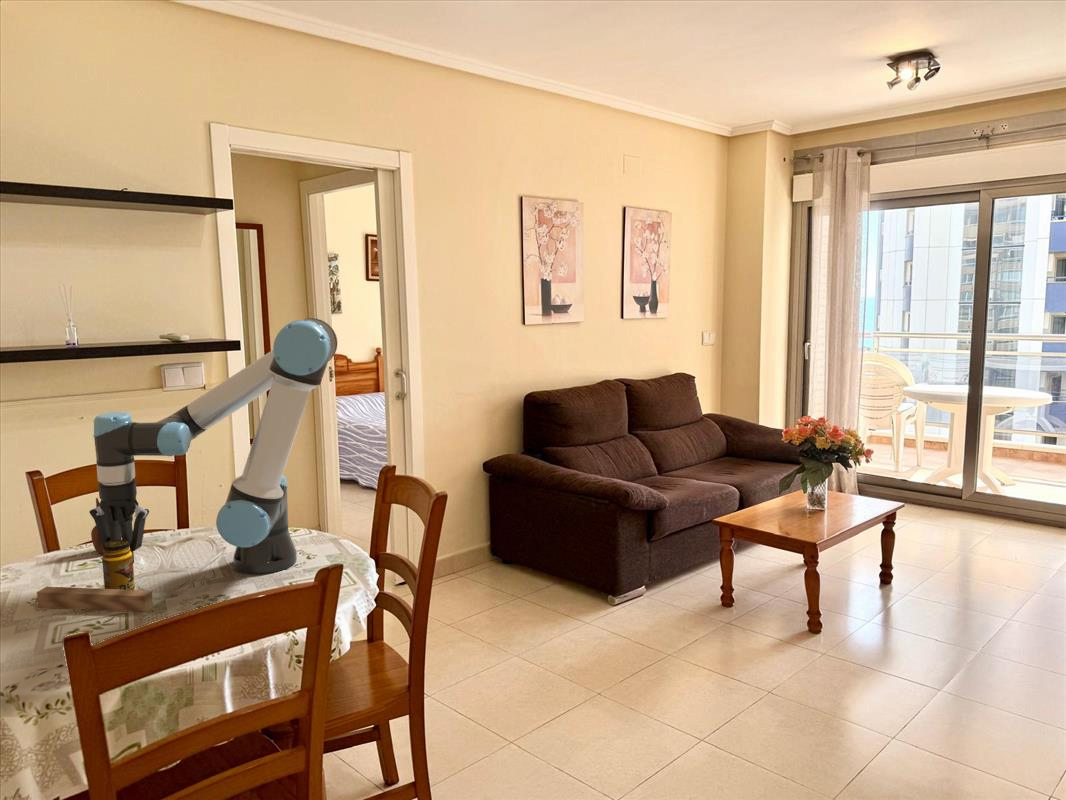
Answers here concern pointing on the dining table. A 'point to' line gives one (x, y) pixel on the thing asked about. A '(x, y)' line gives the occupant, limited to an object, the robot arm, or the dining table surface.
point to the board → (95, 599)
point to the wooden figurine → (97, 536)
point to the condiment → (118, 565)
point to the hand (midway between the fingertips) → (124, 577)
